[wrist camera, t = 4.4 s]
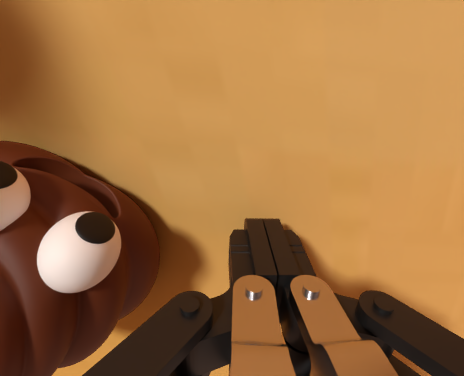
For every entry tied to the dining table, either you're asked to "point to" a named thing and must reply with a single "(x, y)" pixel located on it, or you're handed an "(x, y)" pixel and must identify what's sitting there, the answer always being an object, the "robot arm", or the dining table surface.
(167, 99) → the dining table surface
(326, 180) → the dining table surface
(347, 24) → the dining table surface
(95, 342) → the poop emoji
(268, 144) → the dining table surface
